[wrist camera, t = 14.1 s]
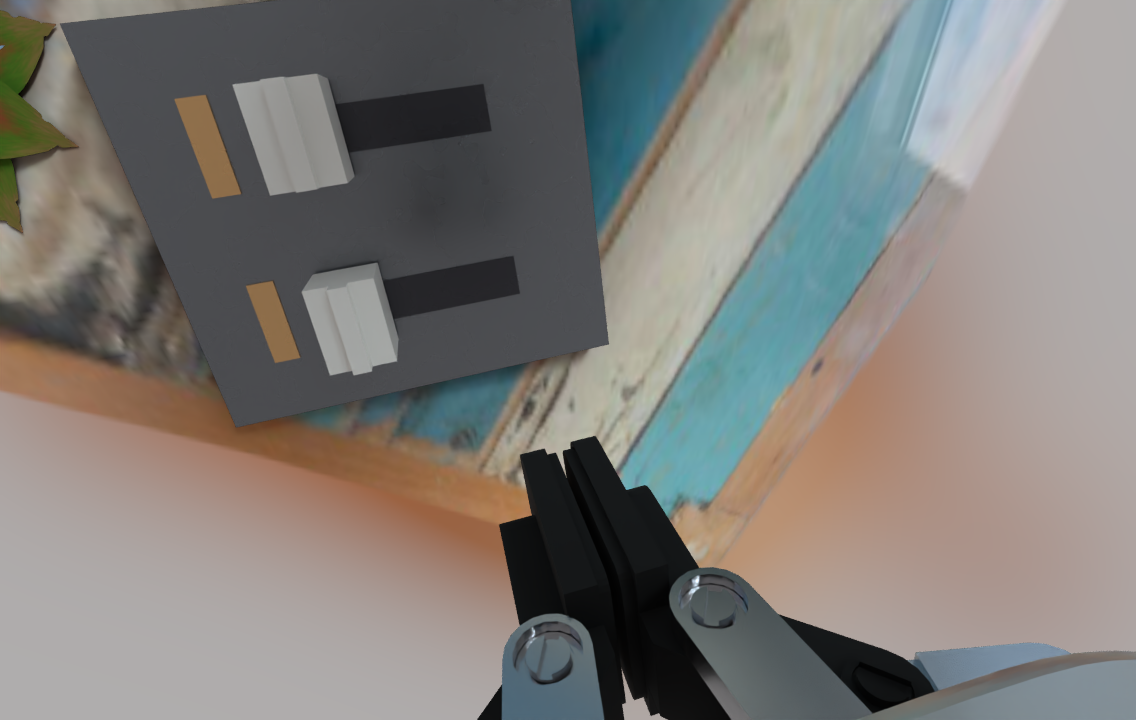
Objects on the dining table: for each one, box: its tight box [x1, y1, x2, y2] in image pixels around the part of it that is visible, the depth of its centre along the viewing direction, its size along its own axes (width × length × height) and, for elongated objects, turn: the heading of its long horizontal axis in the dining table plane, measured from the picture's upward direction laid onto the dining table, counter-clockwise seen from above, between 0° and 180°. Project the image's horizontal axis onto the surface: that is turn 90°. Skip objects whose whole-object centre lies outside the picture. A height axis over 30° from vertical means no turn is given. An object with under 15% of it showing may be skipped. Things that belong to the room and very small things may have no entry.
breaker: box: [233, 74, 355, 196], centre depth 23 cm, size 3×4×4 cm
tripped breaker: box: [302, 263, 399, 375], centre depth 26 cm, size 3×4×4 cm
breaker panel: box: [60, 0, 609, 427], centre depth 28 cm, size 20×18×2 cm
